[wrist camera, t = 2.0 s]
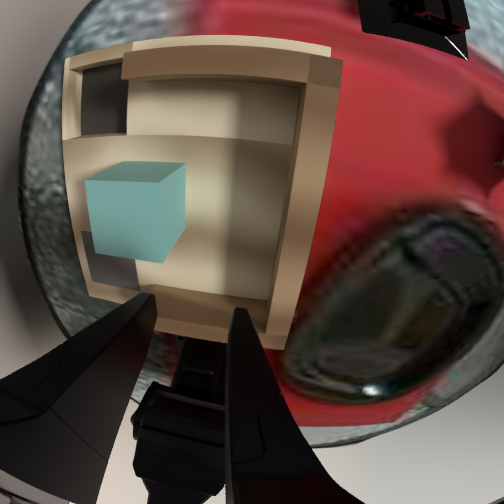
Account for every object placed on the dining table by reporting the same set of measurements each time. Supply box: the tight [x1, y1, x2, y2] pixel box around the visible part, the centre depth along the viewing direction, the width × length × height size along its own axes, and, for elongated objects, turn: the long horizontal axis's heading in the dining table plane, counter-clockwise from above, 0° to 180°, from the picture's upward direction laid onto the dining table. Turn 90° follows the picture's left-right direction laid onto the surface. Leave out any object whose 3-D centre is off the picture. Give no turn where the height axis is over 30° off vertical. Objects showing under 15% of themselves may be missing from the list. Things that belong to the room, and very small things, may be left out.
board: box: [62, 35, 331, 304], centre depth 18 cm, size 21×18×2 cm
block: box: [85, 161, 186, 264], centre depth 15 cm, size 4×4×4 cm
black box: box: [357, 0, 470, 60], centre depth 9 cm, size 12×7×5 cm, turn 94°
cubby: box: [121, 45, 343, 350], centre depth 16 cm, size 18×10×4 cm, turn 174°
